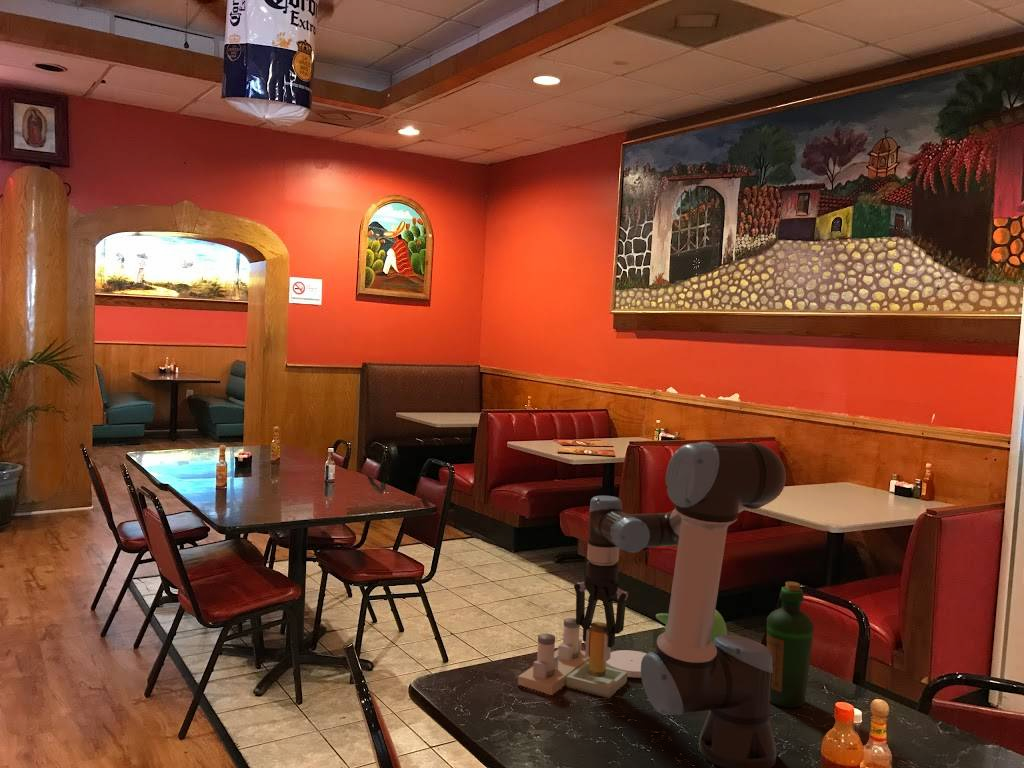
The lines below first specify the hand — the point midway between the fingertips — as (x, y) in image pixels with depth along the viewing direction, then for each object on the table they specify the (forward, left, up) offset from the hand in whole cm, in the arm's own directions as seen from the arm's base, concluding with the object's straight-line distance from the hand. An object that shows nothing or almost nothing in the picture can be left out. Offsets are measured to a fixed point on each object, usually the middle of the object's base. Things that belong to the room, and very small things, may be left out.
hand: (597, 657), depth 202 cm
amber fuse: (0, 0, -4) cm, 4 cm away
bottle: (+17, -41, -7) cm, 45 cm away
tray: (0, 0, -7) cm, 7 cm away
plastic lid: (+14, -3, -7) cm, 16 cm away
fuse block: (0, +10, -7) cm, 12 cm away
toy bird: (+32, -14, -7) cm, 35 cm away
